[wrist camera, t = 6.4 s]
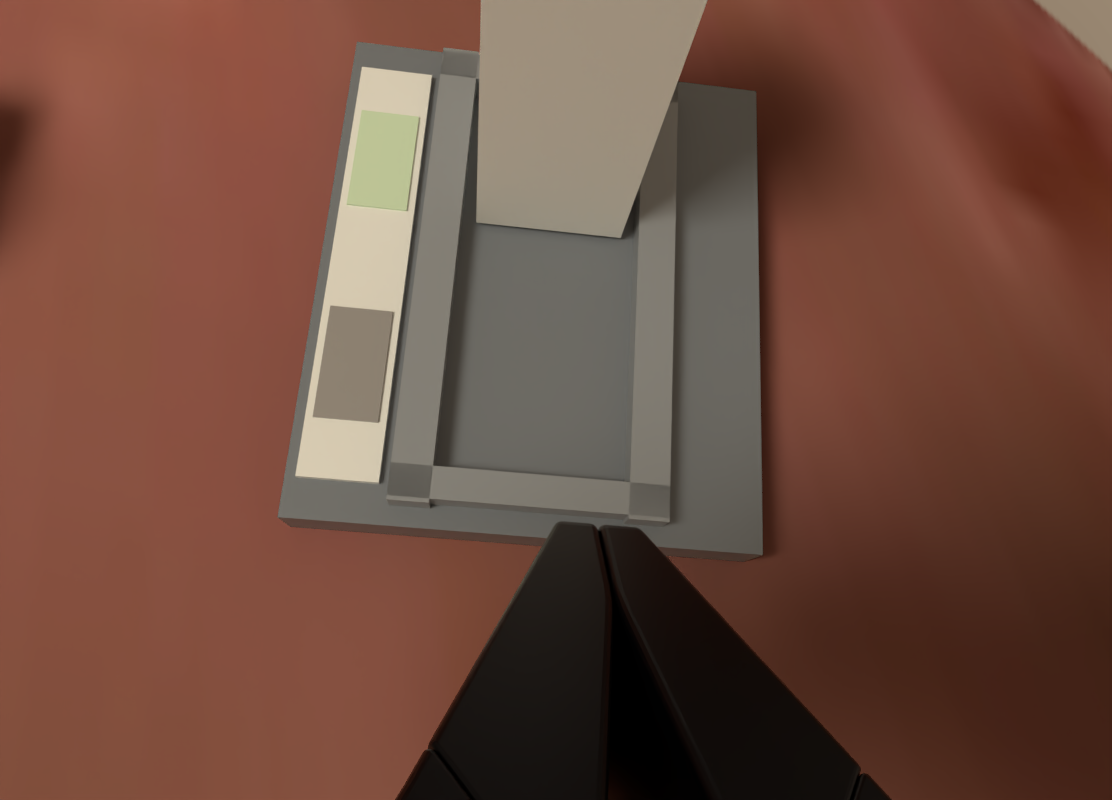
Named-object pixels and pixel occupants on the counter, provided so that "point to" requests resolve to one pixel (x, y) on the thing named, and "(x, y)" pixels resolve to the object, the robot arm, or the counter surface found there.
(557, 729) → the robot arm
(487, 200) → the cream tall block
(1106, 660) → the counter surface
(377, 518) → the docking station
